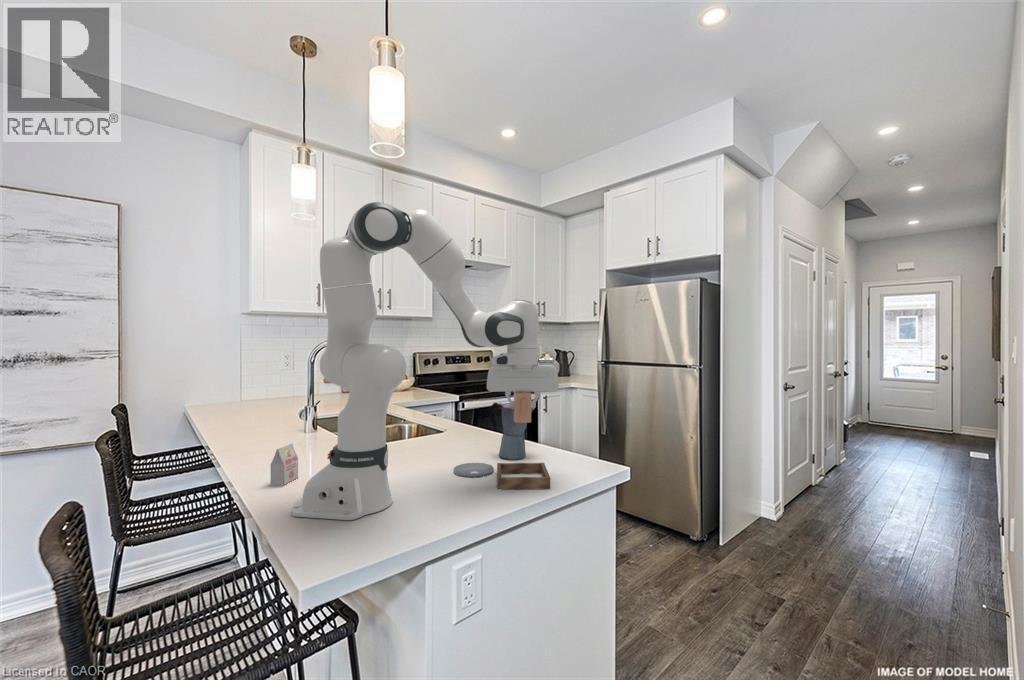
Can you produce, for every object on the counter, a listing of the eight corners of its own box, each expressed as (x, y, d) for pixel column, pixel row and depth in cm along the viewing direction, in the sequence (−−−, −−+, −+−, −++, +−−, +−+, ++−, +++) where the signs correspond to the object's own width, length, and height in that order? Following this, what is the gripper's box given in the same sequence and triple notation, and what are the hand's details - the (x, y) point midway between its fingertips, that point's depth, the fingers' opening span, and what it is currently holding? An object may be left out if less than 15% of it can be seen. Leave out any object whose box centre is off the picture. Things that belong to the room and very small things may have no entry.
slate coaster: (451, 477, 128) (451, 475, 128) (455, 465, 140) (455, 462, 140) (493, 477, 129) (493, 474, 129) (493, 465, 141) (493, 462, 141)
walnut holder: (497, 489, 119) (497, 478, 119) (497, 473, 133) (497, 463, 133) (550, 489, 119) (550, 477, 119) (544, 472, 133) (544, 462, 133)
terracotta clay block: (513, 418, 129) (513, 390, 129) (529, 418, 129) (529, 390, 129) (515, 423, 121) (515, 394, 121) (531, 423, 121) (531, 394, 121)
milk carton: (270, 486, 121) (270, 449, 121) (286, 478, 128) (285, 443, 127) (283, 486, 120) (283, 450, 120) (298, 478, 127) (297, 443, 127)
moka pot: (534, 461, 145) (535, 399, 145) (487, 460, 145) (487, 399, 145) (533, 453, 155) (534, 395, 154) (489, 452, 155) (489, 395, 155)
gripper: (557, 358, 129) (557, 405, 129) (487, 357, 128) (486, 405, 128) (561, 359, 123) (560, 409, 123) (486, 358, 122) (486, 409, 122)
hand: (522, 407), depth 126 cm, fingers closed on terracotta clay block, 4 cm apart
